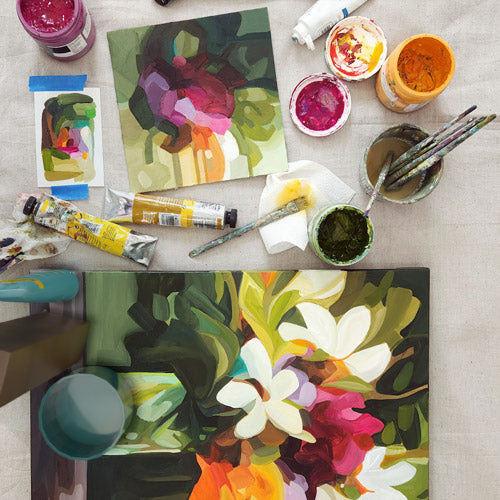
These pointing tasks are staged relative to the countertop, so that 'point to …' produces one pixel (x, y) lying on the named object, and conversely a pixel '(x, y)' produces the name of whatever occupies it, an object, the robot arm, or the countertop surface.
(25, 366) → the pedestal
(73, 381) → the bowl
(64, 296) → the tube
